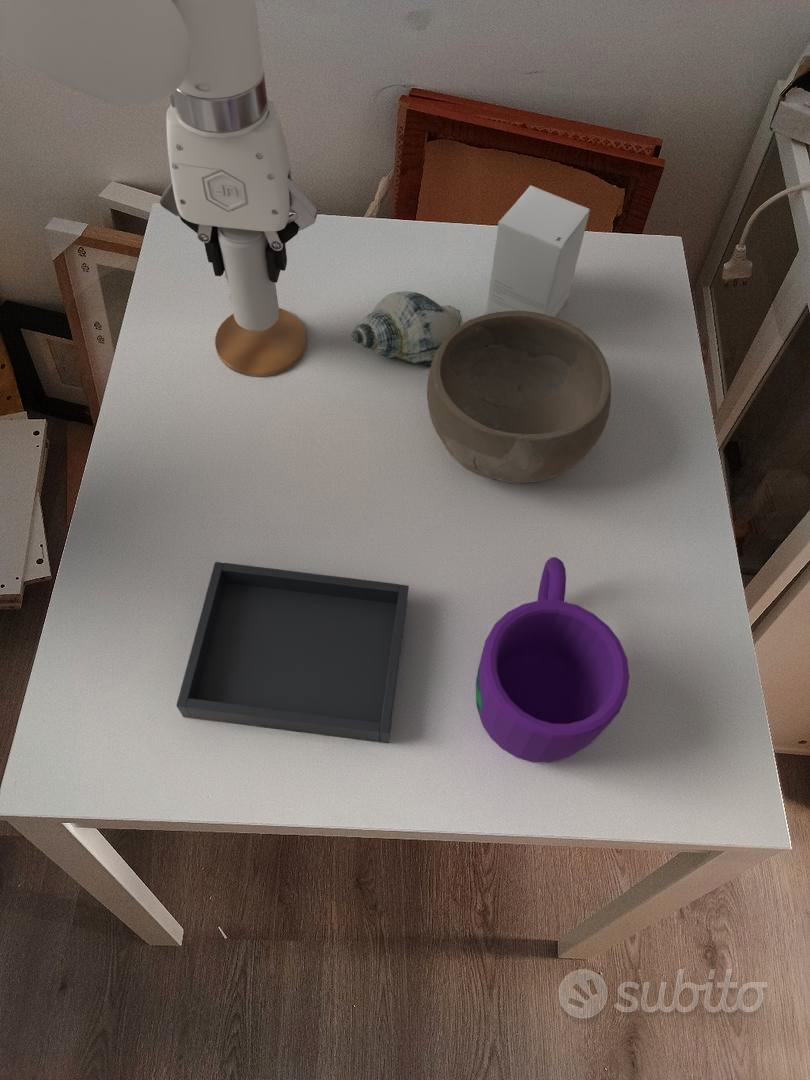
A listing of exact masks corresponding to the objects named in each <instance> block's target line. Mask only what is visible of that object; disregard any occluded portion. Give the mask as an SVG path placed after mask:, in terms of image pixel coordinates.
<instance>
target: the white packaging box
mask: <svg viewBox="0 0 810 1080" xmlns="http://www.w3.org/2000/svg"><path fill="white" fill-rule="evenodd" d="M590 211H591V208H588V207H586V206H584V205H581V204H578V203H576V202H573V201H570V200H568V199H565V198H564V197H560V196H558V195H556V194H553V193H551V192H548V191H546V190H544V189H541V188H539V187H536V186H533V185H531V184H530V185H529V186H528V187H527V188H526V190H525V191H524V192H523V193H522V194H521V196H520V197H519V198H518V199H517V200H516V201H515V202H514V204H513V205H512V206H511V207H510V208H509V209H508V210H507V211H506V213H505V214H504V215H503V216H502V217H501V218H500V219H499V221H498V223H497V234H496V239H495V247H494V252H493V260H492V266H491V274H490V281H489V286H488V287H489V288H488V296H487V301H486V302H487V304H486V311H485V313H486V315H487V314H491V313H496V312H503V311H529V312H536V313H540V314H545V315H547V316H552V317H555V318H556V316H557V315H558V314H559V312H560V311H561V310H562V308H563V307H564V306H565V304H566V303H567V301H568V300H569V299H568V298H569V295H570V291H571V287H572V283H573V279H574V275H575V271H576V267H577V263H578V260H579V255H580V251H581V248H582V244H583V239H584V237H585V232H586V228H587V224H588V220H589V216H590V213H591V212H590Z"/></svg>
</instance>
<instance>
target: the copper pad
mask: <svg viewBox="0 0 810 1080" xmlns="http://www.w3.org/2000/svg"><path fill="white" fill-rule="evenodd" d="M307 339H308V338H307V332H306V328H305V326H304V325H303V323H302V321H301V320H300V319H299V318H298V317H297V316H296V315H295V314H293V313H291V312H290V311H288V310H286V309H283V308H282V307H281V308H280V307H279V318H278V320H277V321H276V323H275V324H274V325H273V326H271V327H270V328H268V329H266V330H263V331H257V332H255V331H249V330H246V329H244V328H243V327H241V326H239V325H238V323H237V322H236V320H235V318H234V314H233V313H232V314H231V315H229V316H227V318H225V320H224V321H222V323H221V324H220V325H219V327H218V328H217V331H216V334H215V339H214V343H215V344H214V345H215V350H216V353H217V356H218V358H219V360H221V362H222V363H223V365H225V366H226V367H227V368H229V369H230V370H232V371H234V372H236V373H237V374H240V375H244V376H250V377H269V376H273V375H278V374H280V373H283V372H286V371H287V370H289V369H291V368H292V367H293V366H294V365H296V364H297V363H298V362H299V361H300V359H301V358H302V357H303V355H304V353H305V352H306V348H307V342H308V340H307Z"/></svg>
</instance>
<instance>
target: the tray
mask: <svg viewBox="0 0 810 1080" xmlns="http://www.w3.org/2000/svg"><path fill="white" fill-rule="evenodd" d="M408 598H409V585H408V584H400V583H392V582H384V581H376V580H367V579H360V578H351V577H343V576H335V575H329V574H328V575H326V574H320V573H319V574H318V573H311V572H302V571H294V570H285V569H278V568H271V567H270V568H269V567H262V566H256V565H255V566H253V565H245V564H237V563H230V562H220V561H215V562H214V564H213V567H212V571H211V575H210V580H209V583H208V587H207V590H206V594H205V597H204V602H203V605H202V608H201V612H200V616H199V620H198V625H197V627H196V631H195V635H194V638H193V642H192V646H191V650H190V654H189V657H188V660H187V665H186V668H185V671H184V676H183V679H182V683H181V686H180V690H179V694H178V698H177V701H176V707H177V709H178V711H179V713H180V714H181V716H182V718H188V719H195V720H196V719H197V720H203V721H204V720H205V721H211V722H217V723H218V722H219V723H226V724H235V725H242V726H251V727H257V728H264V729H265V728H266V729H272V730H273V729H274V730H281V731H289V732H298V733H304V734H312V735H321V736H328V737H336V738H344V739H351V740H359V741H368V742H373V743H374V742H375V743H382V744H389V742H390V736H391V727H392V721H393V712H394V706H395V705H394V704H395V698H396V690H397V681H398V676H399V667H400V659H401V651H402V645H403V644H402V643H403V637H404V630H405V629H404V628H405V621H406V616H407V615H406V613H407V607H408Z"/></svg>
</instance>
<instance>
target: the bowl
mask: <svg viewBox="0 0 810 1080" xmlns="http://www.w3.org/2000/svg"><path fill="white" fill-rule="evenodd" d="M611 381H612V380H611V373H610V369H609V366H608V363H607V360H606V358H605V355H604V353H603V352H602V350H601V349H600V348H599V346H598V345H597V343H596V342H595V341H594V340H593V339H592V338H591V337H590V336H589V335H588V334H587V333H586V332H584V330H581V328H579V327H577V326H575V325H574V324H572V323H569V322H568V321H565V320H564V319H561V318H558V317H556V316H555V317H552V316H547V315H545V314H540V313H536V312H529V311H503V312H496V313H491V314H487V313H486V314H483V315H480V316H477V317H474V318H471V319H469V320H467V321H466V322H464V323H461V325H460V326H459V327H457V328H456V329H455V330H453V331H452V332H451V333H450V334H449V335H448V336H447V337H446V338H445V339H444V340H443V342H442V344H441V345H440V347H439V348H438V350H437V352H436V354H435V356H434V359H433V361H432V364H431V365H430V368H429V372H428V378H427V385H426V387H427V388H426V401H427V406H428V412H429V417H430V420H431V424H432V425H433V427H434V429H435V432H436V434H437V435H438V437H439V439H440V440H441V442H442V444H443V445H444V447H445V449H446V451H448V452H449V455H450V456H451V457H452V458H453V459H454V460H455V461H456V462H457V463H459V465H461V467H463V468H464V469H466V470H468V471H469V472H471V473H473V474H475V475H478V476H479V477H484V478H487V479H491V480H498V481H502V482H503V481H504V482H508V483H520V484H521V483H523V484H524V483H526V484H527V483H536V482H542V481H546V480H549V479H552V478H554V477H557V476H560V475H561V474H563V473H564V472H566V471H568V470H569V469H571V468H572V467H574V466H575V465H577V464H578V463H579V462H581V460H583V459H584V458H585V457H586V456H587V455H589V453H590V452H591V450H592V449H593V447H594V446H595V445H596V444H597V442H598V441H599V439H600V437H601V435H602V434H603V432H604V431H605V428H606V425H607V422H608V419H609V415H610V409H611V403H612V383H611Z"/></svg>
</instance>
